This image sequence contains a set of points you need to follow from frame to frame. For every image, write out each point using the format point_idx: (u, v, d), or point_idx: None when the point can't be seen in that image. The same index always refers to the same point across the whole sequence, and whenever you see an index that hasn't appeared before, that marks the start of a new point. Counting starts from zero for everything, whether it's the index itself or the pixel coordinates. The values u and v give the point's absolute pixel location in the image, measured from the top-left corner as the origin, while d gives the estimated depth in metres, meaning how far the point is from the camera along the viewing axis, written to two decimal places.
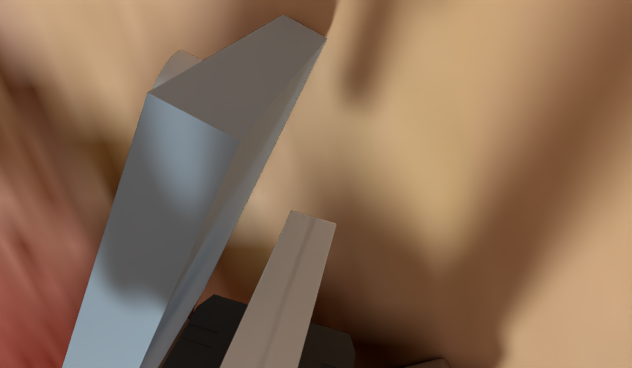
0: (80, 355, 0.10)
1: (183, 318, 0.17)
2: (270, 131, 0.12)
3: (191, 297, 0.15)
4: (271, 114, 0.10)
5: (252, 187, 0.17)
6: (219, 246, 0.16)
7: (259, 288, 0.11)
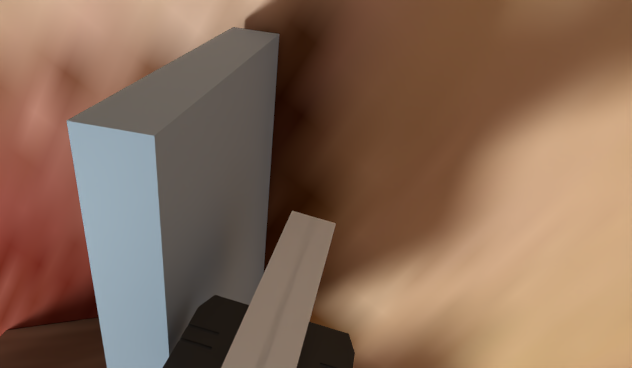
0: None
1: None
2: (235, 132, 0.13)
3: None
4: (214, 112, 0.11)
5: (263, 195, 0.18)
6: (245, 257, 0.17)
7: (260, 288, 0.11)
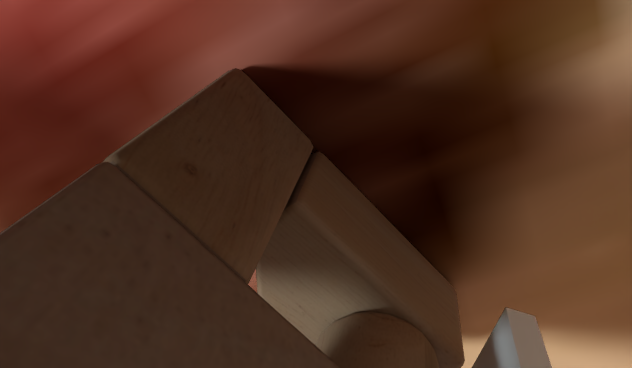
0: None
1: None
2: None
3: None
4: None
5: None
6: None
7: None
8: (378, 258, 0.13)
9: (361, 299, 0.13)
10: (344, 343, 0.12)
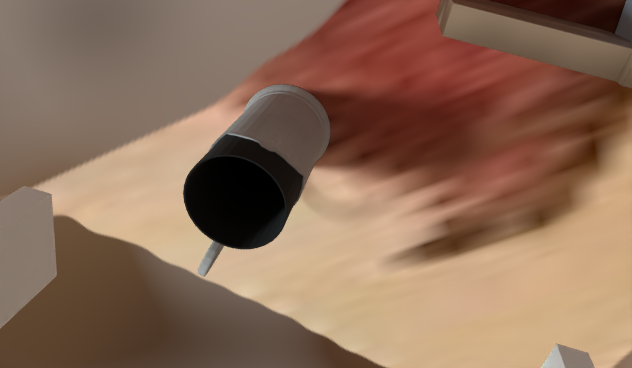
0: None
1: None
2: None
3: None
4: None
5: None
6: None
7: None
8: None
9: None
10: None
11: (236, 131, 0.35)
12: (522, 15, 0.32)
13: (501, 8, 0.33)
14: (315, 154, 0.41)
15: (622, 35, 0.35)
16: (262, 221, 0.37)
